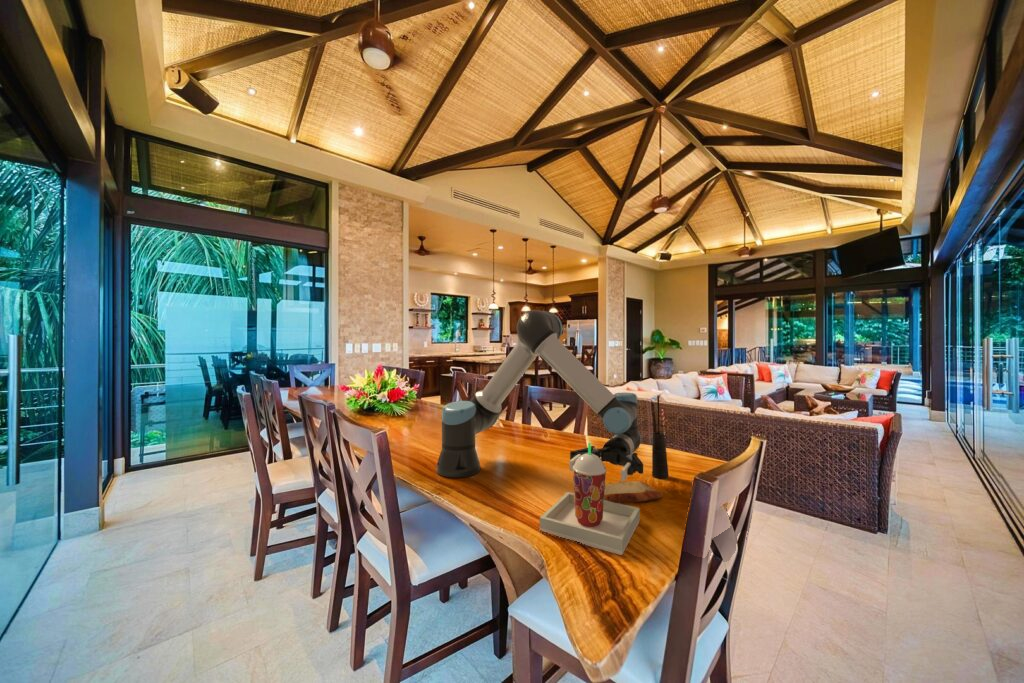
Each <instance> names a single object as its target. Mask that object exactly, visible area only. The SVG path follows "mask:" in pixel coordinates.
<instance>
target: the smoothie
mask: <svg viewBox="0 0 1024 683" xmlns="http://www.w3.org/2000/svg"><path fill="white" fill-rule="evenodd" d="M591 446H592V443H591V442H588V443H587V448H588V453H586V454H583V455H581V456H580V457H579V458H578V459H577V460H576V462H575V464H574V465H573V467H572V468H573V471H572V476H573V477H572V478H573V493H574V499H575V516H576V518H577V520H578V522H579V523H580V524H582V525H584V526H589V527H594V526H597V525H599V524H600V522H601V520H602V519H603V506H604V492H605V485H606V479H607V477H606V475H607V468H606V466H605V464H604V461H603V462H602V460H601V457H600V458H599V457H598V456H596V455H594V454H591Z"/></svg>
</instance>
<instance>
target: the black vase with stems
mask: <svg viewBox="0 0 1024 683" xmlns="http://www.w3.org/2000/svg"><path fill="white" fill-rule="evenodd" d="M656 403H657V432H656V431H655V432H652V438H651V440H652V443H651V444H652V446H651V450H652V451H651V452H652V453H651V454H652V456H651V457H652V459H651V461H652V462H651V463H652V465H651V466H652V467H651V468H652V474H651V475H652V477H653V478H655V479H659V480H664V479H665V480H666V479H668V478H669V466H668V455H667V446H666V437H665V433H663V432H662V430H660V426H661V425H660V396H659V394H658V395H657V402H656Z"/></svg>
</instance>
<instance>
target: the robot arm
mask: <svg viewBox="0 0 1024 683" xmlns="http://www.w3.org/2000/svg"><path fill="white" fill-rule="evenodd" d="M516 333H517V336H516V337H517V342H516V344H515V345H514V347H513V348H512V349H511V350H510V352H509V354H507V356H506V358H505V359H504V360H503V362H502V363H501V364H500V366H499V367H498V369H497V370H496V371H495V373H494V374H493V376H491V378H490V380H488V383H487V384H486V385H485V387H484V388H483V389H482V390H477V391H476V392H475V393H474V395H473V396H472V398H471V399H470V400H458V401H457V400H456V401H452V402H448V403H447V404H445V405H444V406H443V407H442V412H441V413H442V414H441V419H440V420H441V450H440V453H439V456H438V459H437V462H436V473H437V474H438V475H440V476H442V477H445V478H452V479H455V478H457V479H459V478H468V477H472V476H474V475H476V474H478V473H479V472H480V471H481V462H480V460H479V456H478V452H477V450H476V435H477V434H479V433H482V432H484V431H487V430H489V429H490V428H492V427H493V426H495V424H496V423H497V421H498V420H499V419H498V418H499V415H500V413H501V411H502V410H503V409H502V404H503V402H504V401H505V400H506V399H507V397H508V396H509V394H510V393H511V391H512V390H513V389H514V387H515V386H516V385H517V383H518V382H519V381H520V380H521V378H522V377H523V375H525V373H526V371H527V370H528V369H529V368H530V366H531V365H532V363H534V361H535V360H536V358H537V357H538V356H539V357H541V358H542V360H544V361H545V362H546V364H548V365H549V366H550V367H551V369H553V370H554V372H556V373H557V374H558V375H559V376H560V377H561V379H563V380H564V382H566V383H567V385H568V386H569V387H570V388H571V389H572V390H573V391H574V392H575V393H576V394H577V395H578V396H579V397H580V398H581V399H582V401H583V402H585V403H586V404H587V405H588V406H589V407H590V408H591V409H592V411H594V413H596V415H597V416H599V418H600V419H601V420H602V422H603V423H602V424H603V426H604V427H605V429H606V430H607V431H608V432H609V433H611V434H612V435H613V434H614V435H613V436H612V437H610V438H609V440H607V441H606V442H605V443H604V444H603V445H602V446H603V447H602V448H596V447H595V446H593V445H591V454H594V455H596V456H598V457H599V458H600V459H601V460H602V462H603V463H604V462H606V463H609V464H612V465H615V466H620V467H621V466H622V468H621V470H620V482H625V481H626V480H627V478H628V477H629V476H632V475H634V474H636V473H638V474H640V475H642V474H644V463H643V462H642V460H641V458H639V456H638V453H637V452H636V451H637V450H638V449H639V447H640V445H641V443H642V435H641V433H640V431H639V420H638V419H639V416H638V415H639V413H638V411H639V410H638V409H639V408H638V406H639V402H638V396H637V394H635V393H633V392H625V391H624V392H616V393H614V394H613V393H612V392H611V391H610V390H609V388H607V387H606V386H605V384H603V383H602V382H601V381H600V380H599V379H598V378H597V377H596V376H595V375H594V374H593V373H592V371H590V370H589V369H588V368H587V367H586V366H585V365H584V364H583V363H582V362H581V361H580V360H579V359H578V358H577V356H575V355H574V354H573V353H572V352H571V351H570V350H569V349H568V348H567V347H566V346H565V344H564V343H562V342H561V341H560V340H559V339H560V338H561V336H562V334H563V323H562V321H561V319H560V318H559V316H557V315H556V313H555V314H554V313H552V312H550V311H546V310H537V309H530V310H528V311H526V312H524V313H523V314H521V315H520V317H519V319H518V320H517V324H516ZM586 453H588V447H585V448H579V449H575V450H571V451H570V452H569V472H573V468H572V467H573V465H574V464H575V462H576V460H577V459H578V458H579V457H580V456H581V455H583V454H586Z"/></svg>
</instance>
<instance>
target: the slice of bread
mask: <svg viewBox="0 0 1024 683" xmlns="http://www.w3.org/2000/svg"><path fill="white" fill-rule="evenodd" d="M662 497H663V494H662V492H661V491H659V490H656V489H655V488H654V487H652V486H651V485H649V484H647V483H645V482H644V481H641V480H637V481H636V480H631V481H630V480H629V481H627V480H625V481H617V482H611V483H609V484H605V492H604V500H605V501H610V502H614V503H619V504H631V503H633V504H637V503H644V502H650V501H657V500H659V499H661V498H662Z"/></svg>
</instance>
